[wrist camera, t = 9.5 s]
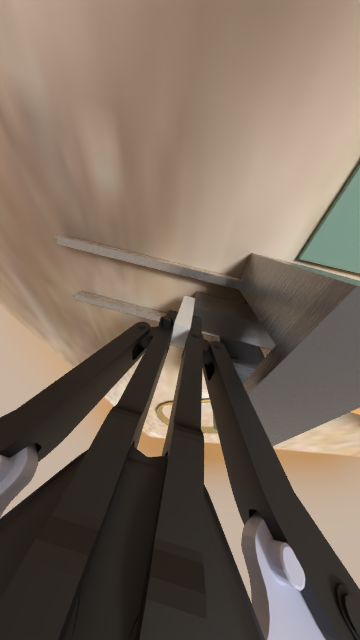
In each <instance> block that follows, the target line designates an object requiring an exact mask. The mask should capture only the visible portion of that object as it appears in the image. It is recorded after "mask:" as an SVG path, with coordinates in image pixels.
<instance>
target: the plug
mask: <svg viewBox="0 0 360 640" xmlns="http://www.w3.org/2000/svg"><path fill="white" fill-rule="evenodd" d="M193 316H196V317H200V318H201V319H202V331H203V332H207V333H211V334H215V335H218V336H222V337H226V338H230V339H234V340H237V341H241V342H245V343H249V344H252V345H256V346H260V347H264V348H268V349H271V350H272V349H273V348H274V347H275V346H276V345H275V343H274V342H273V340H272V339H271V337H270V336H269V334H268V333H267V331H266V330H265V328H264V327H263V325H262V324H261V322H260V321H259V319H258V318H257V316H256V315H255V313H254V312H253V310H252V309H251V307H250V306H249V305H248V304H244V303H240V302H237V301H233V300H229V299H225V298H221V297H217V296H213V295H209V294H205V293H201V292H196V295H195V304H194V310H193ZM351 413H355V414H359V415H360V408H358V409H356V410H353V411H351Z"/></svg>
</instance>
